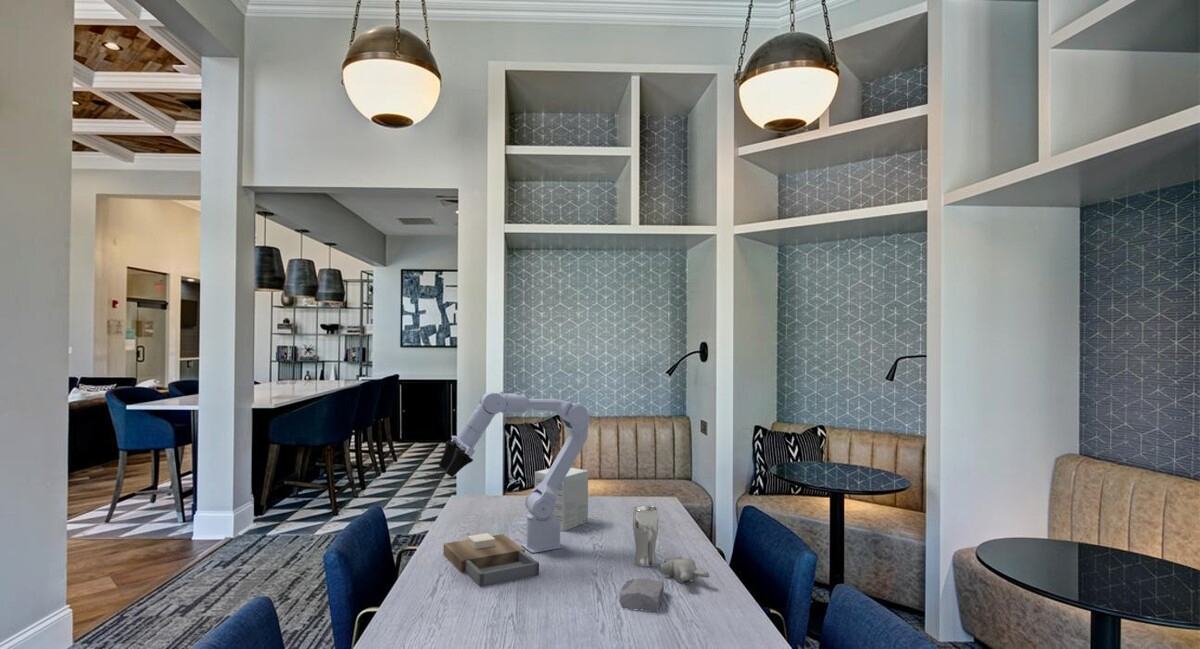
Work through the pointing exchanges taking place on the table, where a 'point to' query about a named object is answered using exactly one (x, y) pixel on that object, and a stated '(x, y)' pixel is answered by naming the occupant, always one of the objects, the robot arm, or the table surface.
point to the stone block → (641, 594)
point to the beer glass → (645, 534)
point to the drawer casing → (482, 553)
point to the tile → (481, 541)
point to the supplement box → (570, 498)
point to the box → (503, 571)
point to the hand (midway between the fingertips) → (445, 471)
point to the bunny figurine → (681, 569)
